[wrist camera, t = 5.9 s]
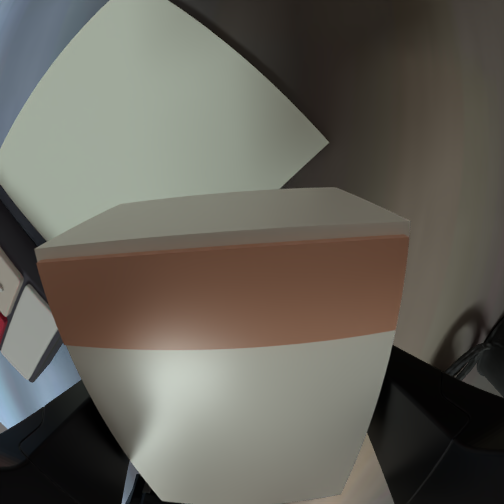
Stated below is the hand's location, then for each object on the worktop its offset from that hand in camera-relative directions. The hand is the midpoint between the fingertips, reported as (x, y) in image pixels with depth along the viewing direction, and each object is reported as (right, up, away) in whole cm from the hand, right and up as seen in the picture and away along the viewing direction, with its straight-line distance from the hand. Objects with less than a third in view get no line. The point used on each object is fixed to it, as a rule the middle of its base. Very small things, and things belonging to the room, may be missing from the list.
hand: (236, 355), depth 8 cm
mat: (-8, +10, +8) cm, 15 cm away
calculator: (-21, +1, +12) cm, 24 cm away
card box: (0, 0, +1) cm, 1 cm away
